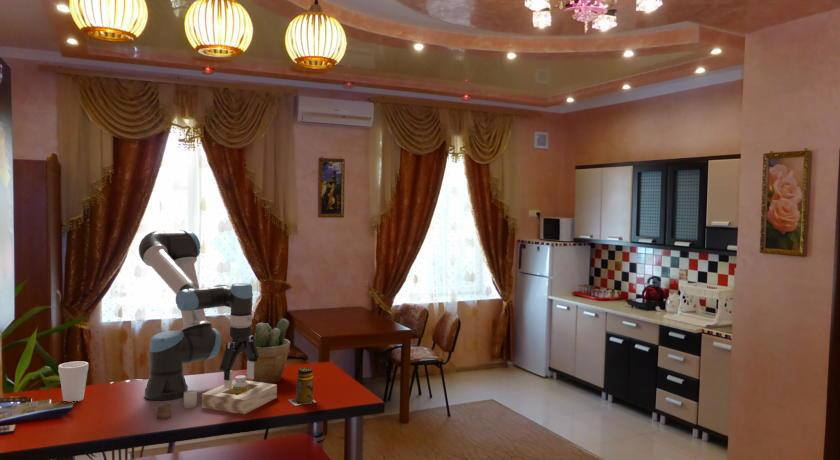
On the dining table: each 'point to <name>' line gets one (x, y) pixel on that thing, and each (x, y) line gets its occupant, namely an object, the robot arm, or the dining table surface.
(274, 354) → the potted plant
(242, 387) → the supplement bottle
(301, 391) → the condiment
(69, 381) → the foam cup
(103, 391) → the dining table surface
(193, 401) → the pale grey block
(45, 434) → the dining table surface
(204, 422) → the dining table surface
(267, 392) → the board
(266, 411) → the dining table surface
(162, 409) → the walnut dowel short
